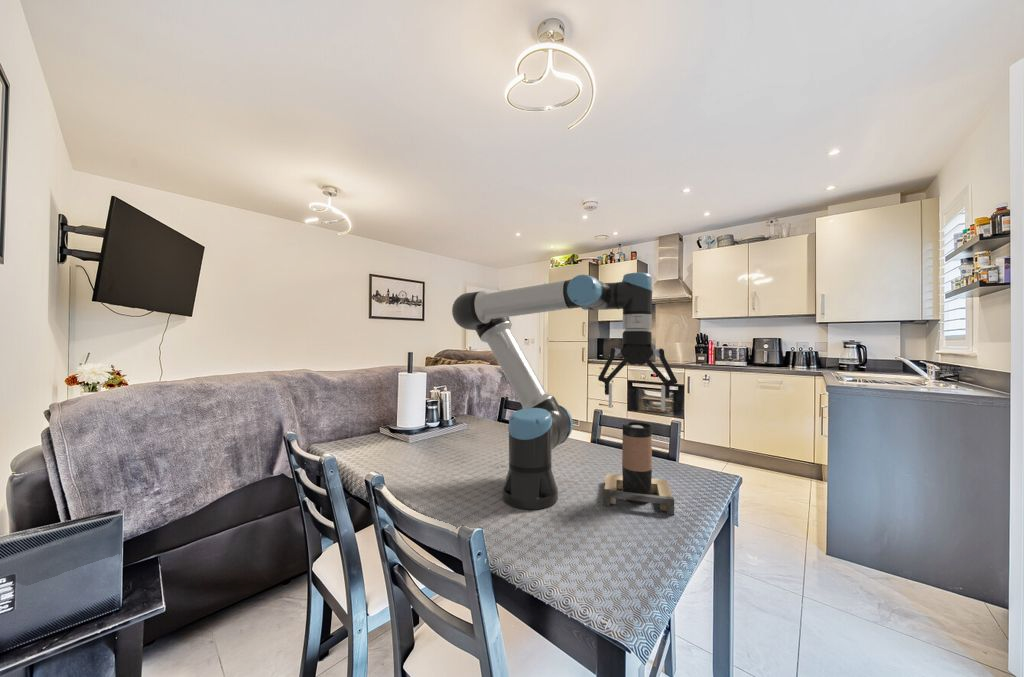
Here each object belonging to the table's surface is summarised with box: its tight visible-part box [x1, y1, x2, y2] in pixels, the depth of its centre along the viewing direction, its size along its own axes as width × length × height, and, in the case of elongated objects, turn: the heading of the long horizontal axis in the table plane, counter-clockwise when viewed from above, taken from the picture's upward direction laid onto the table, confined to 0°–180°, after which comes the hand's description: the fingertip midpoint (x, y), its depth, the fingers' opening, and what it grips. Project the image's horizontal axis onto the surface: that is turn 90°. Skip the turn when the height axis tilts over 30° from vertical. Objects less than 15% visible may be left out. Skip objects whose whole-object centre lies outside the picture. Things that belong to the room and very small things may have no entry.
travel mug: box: [621, 421, 653, 505], centre depth 101 cm, size 8×8×20 cm
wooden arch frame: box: [602, 473, 675, 516], centre depth 102 cm, size 17×17×4 cm
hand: (636, 408), depth 101 cm, fingers open, 13 cm apart
